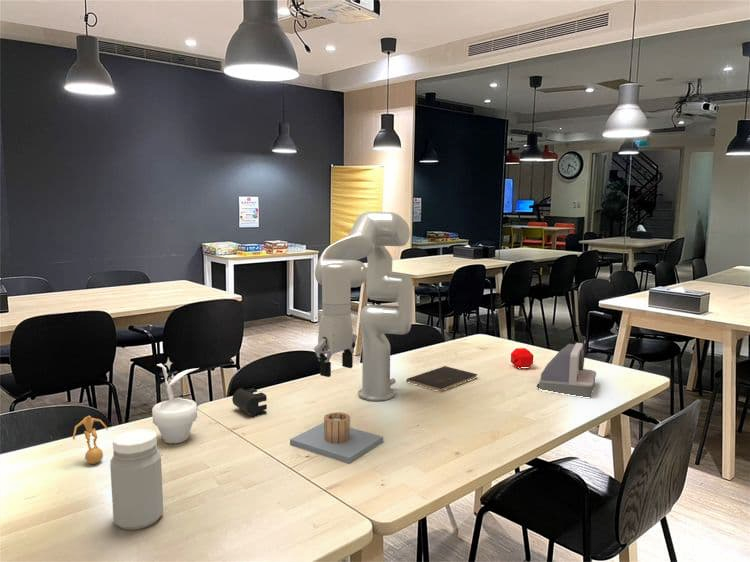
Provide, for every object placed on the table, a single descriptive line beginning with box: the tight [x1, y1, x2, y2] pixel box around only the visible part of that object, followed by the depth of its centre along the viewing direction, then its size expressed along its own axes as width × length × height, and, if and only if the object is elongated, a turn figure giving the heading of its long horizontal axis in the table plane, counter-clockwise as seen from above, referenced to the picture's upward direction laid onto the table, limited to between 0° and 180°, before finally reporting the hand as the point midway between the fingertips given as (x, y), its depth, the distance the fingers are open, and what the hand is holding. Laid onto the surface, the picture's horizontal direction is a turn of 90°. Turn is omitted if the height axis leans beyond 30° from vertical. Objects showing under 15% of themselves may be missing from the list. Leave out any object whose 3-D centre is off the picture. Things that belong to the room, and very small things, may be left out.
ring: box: [323, 411, 351, 443], centre depth 153 cm, size 7×7×6 cm
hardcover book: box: [405, 365, 479, 392], centre depth 210 cm, size 16×23×2 cm
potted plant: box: [151, 357, 200, 445], centre depth 154 cm, size 13×12×25 cm
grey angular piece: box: [536, 342, 597, 398], centre depth 203 cm, size 21×21×15 cm
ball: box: [510, 347, 534, 368], centre depth 227 cm, size 8×8×8 cm
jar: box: [109, 428, 164, 531], centre depth 115 cm, size 10×10×18 cm
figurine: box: [72, 415, 109, 465], centre depth 141 cm, size 8×6×12 cm
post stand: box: [289, 419, 384, 464], centre depth 153 cm, size 16×20×6 cm
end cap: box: [231, 387, 268, 418], centre depth 176 cm, size 10×7×7 cm
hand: (336, 371), depth 151 cm, fingers open, 9 cm apart
